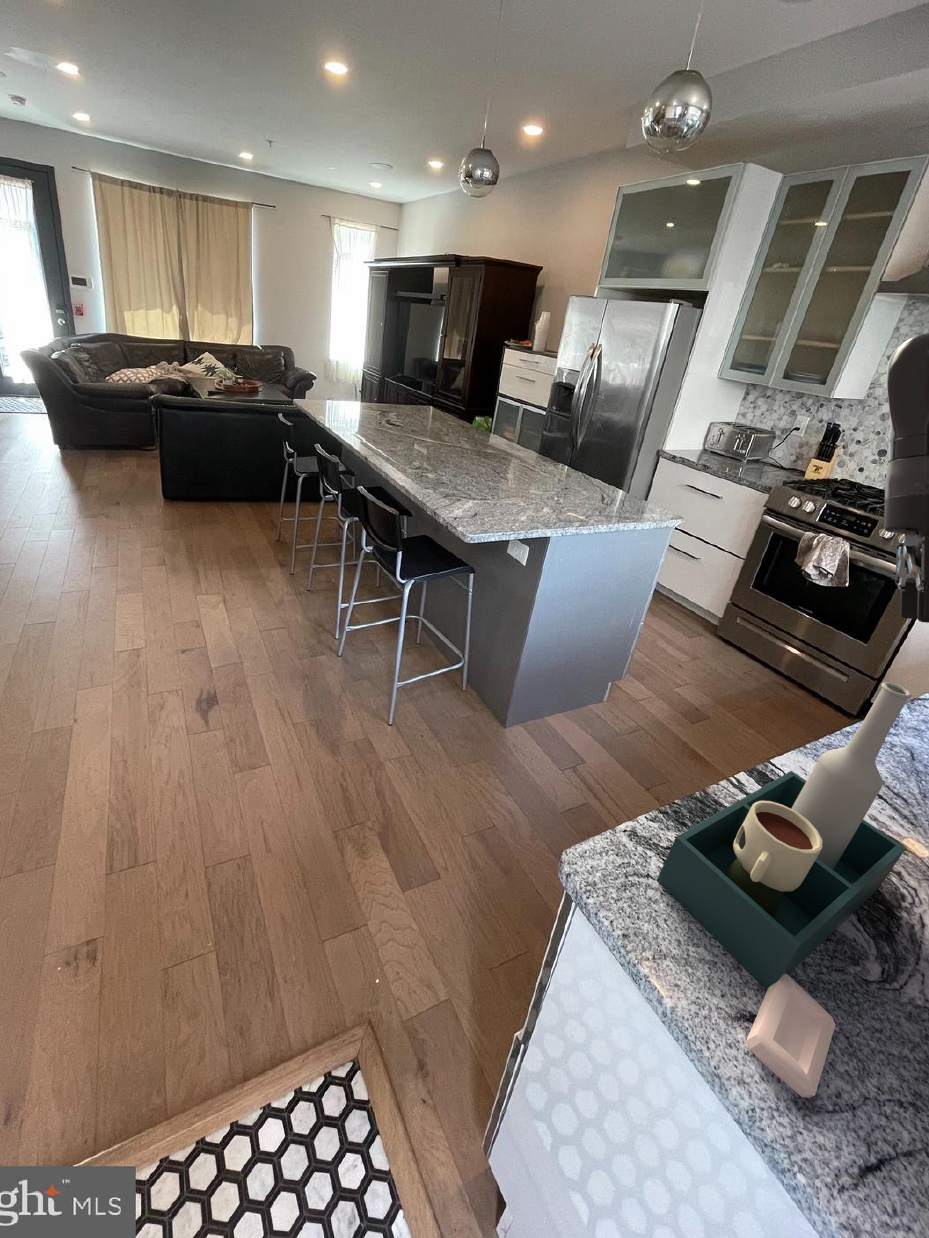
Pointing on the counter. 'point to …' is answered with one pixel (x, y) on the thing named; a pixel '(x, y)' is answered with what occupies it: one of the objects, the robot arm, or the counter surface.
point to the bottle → (849, 778)
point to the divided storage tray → (802, 911)
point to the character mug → (773, 853)
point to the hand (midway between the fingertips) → (919, 620)
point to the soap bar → (792, 1035)
